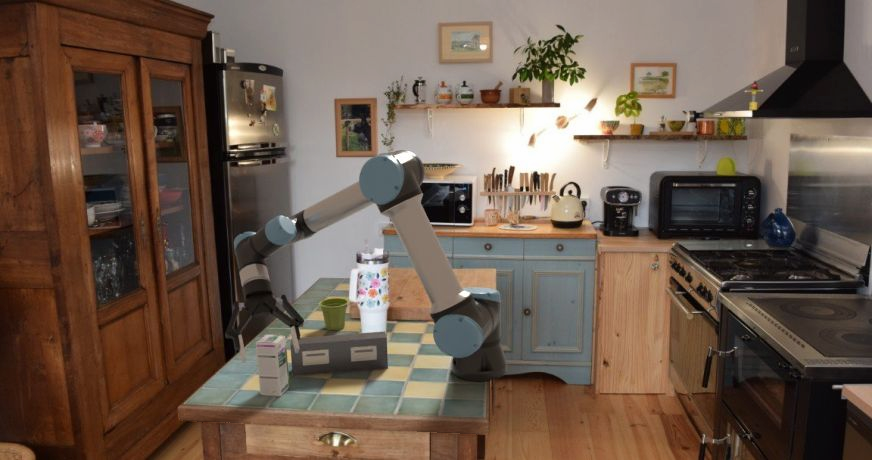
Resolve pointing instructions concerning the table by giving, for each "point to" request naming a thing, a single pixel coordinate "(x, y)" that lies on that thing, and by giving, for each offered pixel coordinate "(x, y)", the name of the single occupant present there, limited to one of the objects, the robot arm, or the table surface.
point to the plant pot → (334, 313)
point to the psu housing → (340, 353)
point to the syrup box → (272, 365)
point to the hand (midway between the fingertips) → (271, 355)
